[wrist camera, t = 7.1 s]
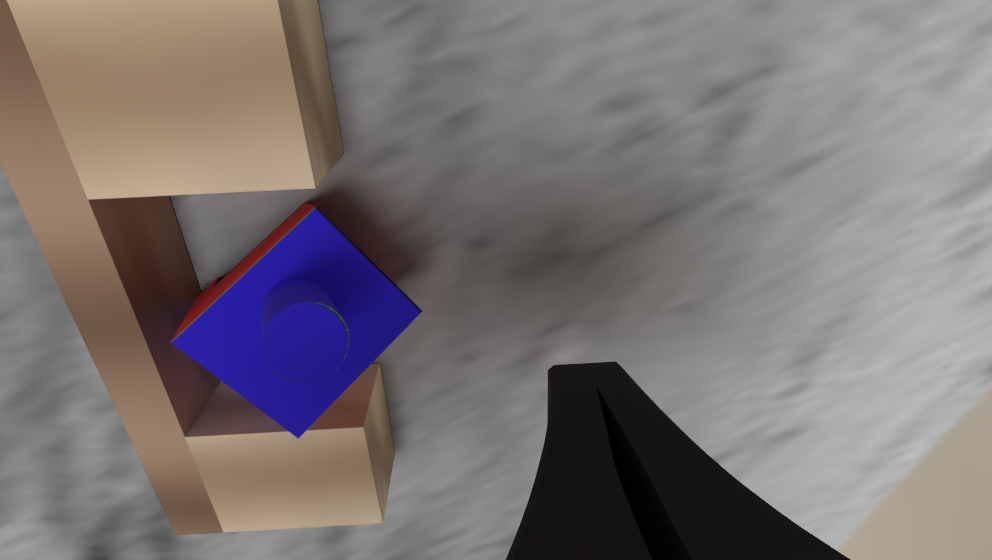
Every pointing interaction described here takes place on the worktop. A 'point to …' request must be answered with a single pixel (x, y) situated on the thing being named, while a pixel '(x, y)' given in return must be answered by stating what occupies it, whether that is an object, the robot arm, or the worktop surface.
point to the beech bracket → (158, 240)
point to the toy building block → (296, 320)
